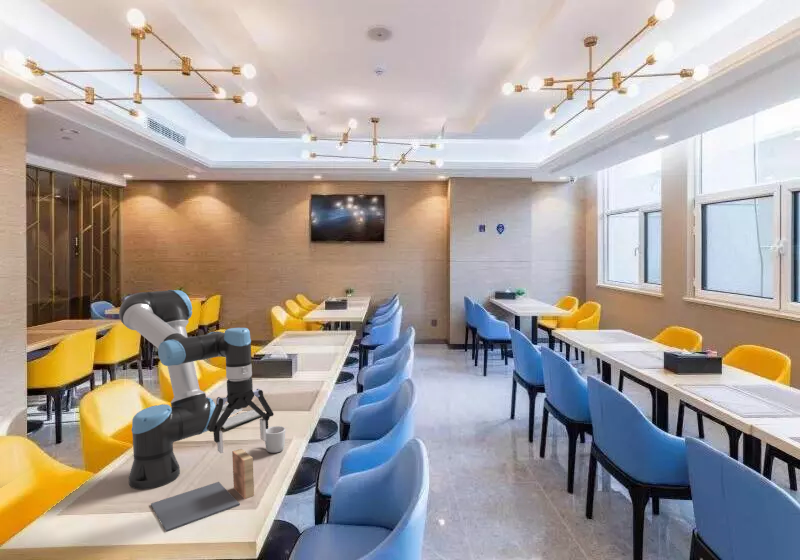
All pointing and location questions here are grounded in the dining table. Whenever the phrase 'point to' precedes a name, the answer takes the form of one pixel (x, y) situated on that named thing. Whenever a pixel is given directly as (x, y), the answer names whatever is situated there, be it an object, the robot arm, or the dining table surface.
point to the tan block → (243, 473)
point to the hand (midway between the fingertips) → (242, 445)
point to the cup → (275, 439)
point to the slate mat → (193, 505)
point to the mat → (238, 417)
